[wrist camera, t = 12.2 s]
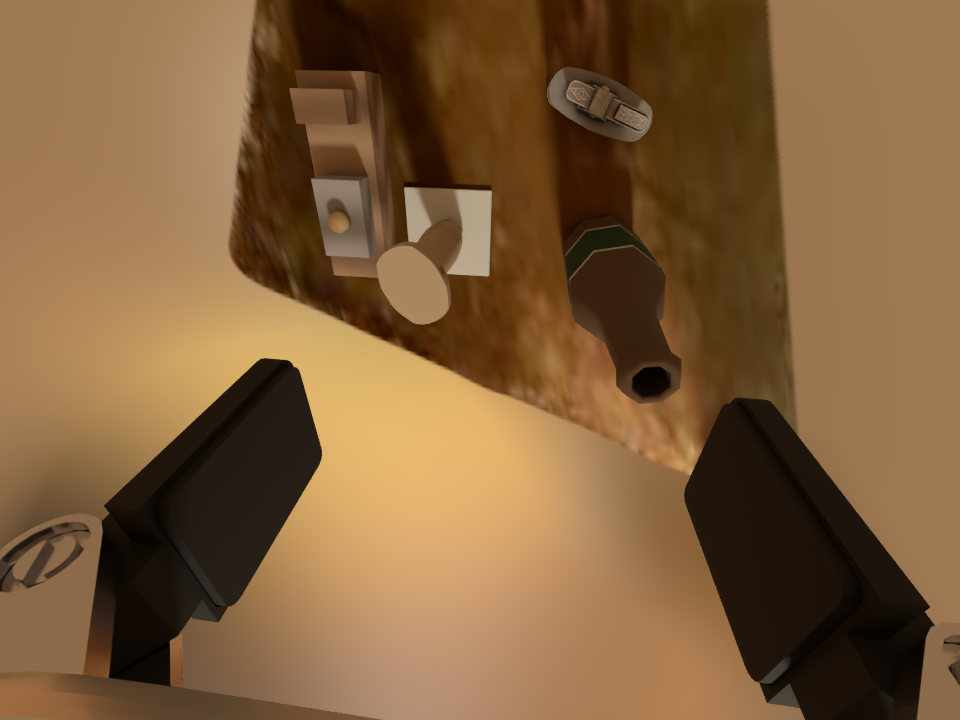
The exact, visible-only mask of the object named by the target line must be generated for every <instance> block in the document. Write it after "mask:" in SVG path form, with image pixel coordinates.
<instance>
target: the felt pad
mask: <svg viewBox="0 0 960 720" xmlns="http://www.w3.org/2000/svg"><path fill="white" fill-rule="evenodd" d="M404 191H405V203H406V215H407V228H408V240H409V242H418V240H419V239H420V237H421V236H422V234H423V233H424V232H425V231H426V230H427V229H428V228H429V227H430V226H432V225H433V224H435V223H437V222H439V221H443V220H444V219H445V218H451V220H452V221H453V222H455V223H457V224H460V225H461V226H462V228H463V232H462V247H461V251H460V254H459V256H458V258H457V260H456V262H455V263H454V265H453V266H452V267H451V269H450V270H449V271H448V273H447V274H460V275H476V276H489V269H490V237H491V205H492V190H470V189H445V188H421V187H404Z"/></svg>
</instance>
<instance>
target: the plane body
mask: <svg viewBox="0 0 960 720" xmlns="http://www.w3.org/2000/svg"><path fill="white" fill-rule="evenodd" d="M295 73H296V78H297V83H298V88H289V89H290V94H291V98H292V103H293V108H294V113H295V118H296V123H297V124H305V125H306V130H307V135H308V140H309V146H310V151H311V156H312V161H313V166H314V171H315V178H313V179H311V180H312V185H313V190H314V195H315V200H316V205H317V211H318V216H319V221H320V226H321V231H322V236H323V241H324V246H325V251H326V256H331V260H332V265H333V270H334V275H342V276H358V277H374V278H378V272H377V266H376V265H377V262H378V260H379V258H380V257H381V256H382V255H383V254H384V253H385V252H386V251H387V250H388V249H389V248H391V247H392V246H394V245H396V244H397V241H396V230H395V220H394V210H393V200H392V190H391V179H390V169H389V159H388V149H387V139H386V128H385V118H384V108H383V98H382V88H381V77H380V74H379V73H373V72H367V71H320V70H295Z"/></svg>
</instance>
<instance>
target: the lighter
mask: <svg viewBox="0 0 960 720" xmlns="http://www.w3.org/2000/svg"><path fill="white" fill-rule="evenodd" d="M547 98H548V101H549V103H550V104H551V105H552V106H553V107H554V108H555V109H557V110H558V111H559V112H561V113H562V114H563V115H564V116H566V117H568V118H569V119H571V120H572V121H574V122H576V123H578V124H579V125H581V126H583V127H585V128H586V129H588V130H590V131H593V132H595V133H598V134H601V135H603V136H606V137H609V138H613V139H618V140H623V141H627V142H634V141H636V140H639V139H640V138H641V137H642V136H644V135H645V133H646V132H647V131H648V129H649V127H650V125H651V122H652V110H651V108H650V106H649V105H648V104H647V103H646V102H645V101H644V100H642V99H641V98H640V97H639V96H638V95H636V94H635V93H634V92H633V91H632V90H630V89H628V88H627V87H625V86H623V85H622V84H620V83H618V82H617V81H615V80H613V79H611V78H608V77H606V76H603V75H601V74H598V73H595V72H593V71H589V70H584V69H580V68H575V67H565V68H563V69H561V70H559V71H558V72H557V73H556V74H555V75H554V77H553V78H552V80H551V81H550V83H549V85H548V89H547Z"/></svg>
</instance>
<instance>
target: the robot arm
mask: <svg viewBox="0 0 960 720" xmlns="http://www.w3.org/2000/svg"><path fill="white" fill-rule="evenodd" d="M321 458H322V449H321V445H320V442H319V439H318V435H317V431H316V428H315V424H314V421H313V417H312V414H311V410H310V406H309V403H308V399H307V396H306V392H305V389H304V385H303V382H302V378H301V374H300V372H299V370H298V369H297V368H296V367H293V365H292V363H291V362H290V361H288V360H279V359H266V358H264V359H260V360H259V361H257V362H256V363H255V364H254V365H253V366H252V367H251V368H250V369H249V370H248V371H247V372H246V373H244V375H242V376H241V377H240V378H239V379H238V380H237V381H236V382H235V383H234V384H233V385H232V386H231V387H230V388H229V389H228V390H227V391H225V392H224V393H223V394H222V395H221V396H220V397H219V398H218V399H217V400H216V401H215V402H214V403H213V404H212V405H211V406H209V407H208V408H207V409H206V410H205V411H204V412H203V413H202V414H201V415H200V416H199V417H198V418H197V419H196V420H194V422H192V423H191V424H190V425H189V426H188V427H187V428H186V429H185V430H184V431H183V432H182V433H181V434H180V435H179V436H177V437H176V438H175V439H174V440H173V441H172V442H171V443H170V444H169V445H168V446H167V447H166V448H165V449H164V450H163V451H162V452H161V453H159V454H158V455H157V456H156V457H155V458H154V459H153V460H152V461H151V462H150V463H149V464H148V465H147V466H146V467H145V468H143V469H142V470H141V471H140V472H139V473H138V474H137V475H136V476H135V477H134V478H133V479H132V480H131V481H130V482H129V483H127V484H126V485H125V486H124V487H123V488H122V489H121V490H120V491H119V492H118V493H117V494H116V495H115V496H114V497H113V498H112V499H110V500H109V501H108V502H107V503H106V504H105V505H104V507H105V508H106V509H107V510H108V512H109V513H110V514H109V515H108V516H107V517H106V518H105V519H104V520H103V521H102V522H101V521H100V520H98V518H96V517H95V516H92V515H88V514H73V515H67V516H63V517H59V518H56V519H52V520H50V521H47V522H45V523H43V524H41V525H38V526H36V527H34V528H32V529H31V530H29V531H27V532H25V533H23V534H22V535H20V536H19V537H17V538H15V539H14V540H12V541H11V542H10V543H9V544H7V545H6V546H5V547H3V548H2V549H1V550H0V720H379V719H373V718H367V717H361V716H355V715H349V714H343V713H337V712H330V711H324V710H318V709H312V708H305V707H299V706H292V705H286V704H280V703H273V702H267V701H261V700H255V699H249V698H242V697H236V696H230V695H223V694H217V693H211V692H205V691H198V690H192V689H185V688H184V686H183V685H184V684H183V658H182V629H183V628H184V626H185V625H186V623H187V622H188V620H189V619H190V617H192V618H193V619H200V620H206V621H213V622H219V621H220V619H221V617H222V615H223V614H224V613H225V611H226V609H227V607H228V606H232V605H234V604H235V603H236V602H237V601H238V600H239V599H240V597H241V596H242V594H243V592H244V591H245V589H246V587H247V586H248V584H249V582H250V581H251V579H252V577H253V575H254V574H255V572H256V570H257V569H258V567H259V565H260V564H261V562H262V560H263V559H264V557H265V555H266V553H267V552H268V550H269V549H270V547H271V545H272V544H273V542H274V540H275V538H276V537H277V535H278V533H279V532H280V530H281V528H282V527H283V525H284V523H285V522H286V520H287V518H288V516H289V515H290V513H291V511H292V510H293V508H294V507H295V505H296V503H297V501H298V500H299V498H300V496H301V495H302V493H303V491H304V490H305V488H306V486H307V485H308V483H309V481H310V480H311V478H312V476H313V475H314V473H315V471H316V469H317V468H318V466H319V464H320V461H321ZM684 497H685V503H686V506H687V509H688V512H689V514H690V517H691V520H692V523H693V526H694V528H695V531H696V534H697V536H698V539H699V542H700V545H701V547H702V550H703V553H704V555H705V558H706V561H707V564H708V566H709V569H710V572H711V575H712V577H713V580H714V583H715V585H716V588H717V591H718V594H719V596H720V599H721V602H722V604H723V607H724V610H725V612H726V615H727V618H728V620H729V623H730V626H731V629H732V632H733V634H734V637H735V640H736V643H737V645H738V648H739V651H740V653H741V656H742V659H743V662H744V664H745V667H746V669H747V671H748V673H749V675H750V676H751V678H752V679H753V680H754V681H756V682H759V683H760V686H761V688H762V691H763V693H764V696H765V699H766V701H767V703H770V704H777V705H784V706H790V707H797V708H800V709H801V711H802V713H803V716H804V718H805V720H960V623H944V622H942V623H940V624H937V625H934V624H933V623H932V621H931V620H930V618H929V617H928V616H927V614H926V613H925V611H926V610H927V609H928V608H930V606H929V605H928V603H927V602H926V601H925V600H924V598H923V597H922V596H921V594H920V593H919V592H918V591H917V589H916V588H915V587H914V585H913V584H912V583H911V582H910V580H909V579H908V578H907V576H906V575H905V574H904V572H903V571H902V570H901V569H900V567H899V566H898V565H897V564H896V562H895V561H894V560H893V558H892V557H891V556H890V555H889V553H888V552H887V551H886V549H885V548H884V547H883V545H882V544H881V543H880V541H879V540H878V539H877V538H876V536H875V535H874V534H873V532H872V531H871V530H870V529H869V527H868V526H867V525H866V524H865V522H864V521H863V520H862V518H861V517H860V516H859V515H858V513H857V512H856V511H855V509H854V508H853V507H852V505H851V504H850V503H849V502H848V500H847V499H846V498H845V496H844V495H843V494H842V492H841V491H840V490H839V489H838V487H837V486H836V485H835V484H834V482H833V481H832V480H831V478H830V477H829V476H828V475H827V473H826V472H825V471H824V469H823V468H822V467H821V465H820V464H819V463H818V462H817V460H816V459H815V458H814V456H813V455H812V454H811V452H810V451H809V450H808V449H807V447H806V446H805V445H804V443H803V442H802V441H801V439H800V438H799V437H798V436H797V434H796V433H795V432H794V430H793V429H792V428H791V427H790V425H789V424H788V423H787V421H786V420H785V419H784V418H783V416H782V415H781V414H780V412H779V411H778V410H777V409H776V407H775V406H774V405H773V404H772V403H771V402H770V401H768V400H761V399H749V398H735V399H734V400H733V401H732V402H731V403H730V404H725V405H724V406H723V407H722V408H721V410H720V413H719V415H718V417H717V419H716V421H715V424H714V426H713V428H712V430H711V432H710V435H709V437H708V439H707V441H706V443H705V446H704V448H703V450H702V452H701V454H700V457H699V459H698V461H697V463H696V465H695V468H694V470H693V472H692V474H691V476H690V479H689V481H688V483H687V485H686V488H685V494H684Z"/></svg>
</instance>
